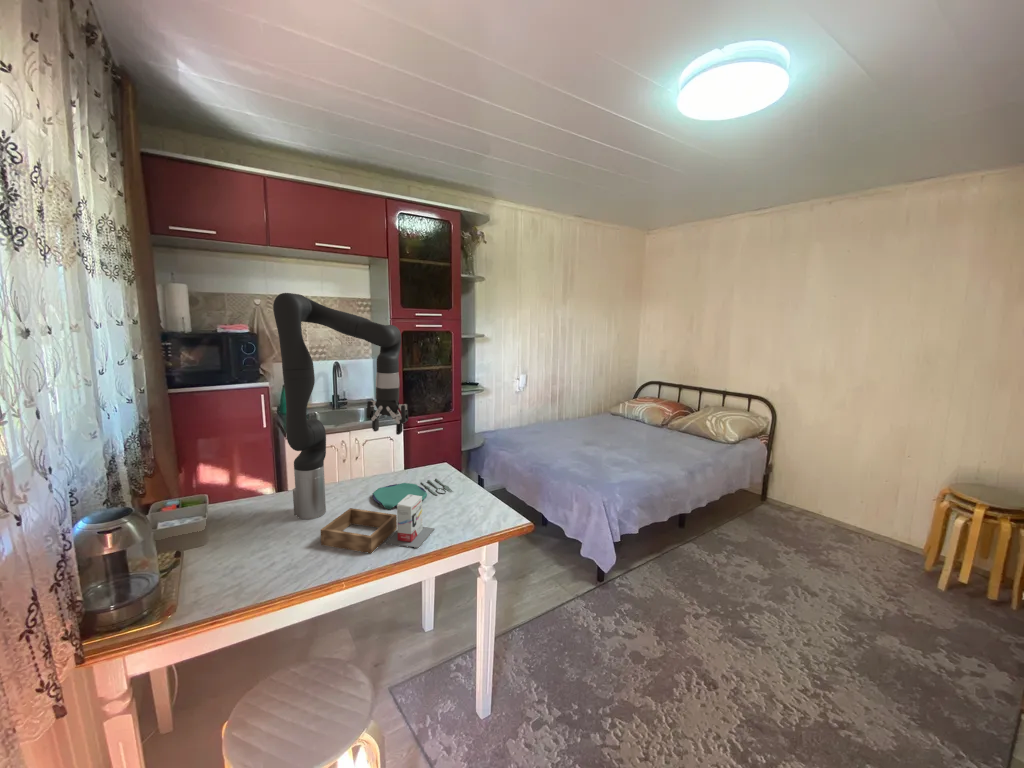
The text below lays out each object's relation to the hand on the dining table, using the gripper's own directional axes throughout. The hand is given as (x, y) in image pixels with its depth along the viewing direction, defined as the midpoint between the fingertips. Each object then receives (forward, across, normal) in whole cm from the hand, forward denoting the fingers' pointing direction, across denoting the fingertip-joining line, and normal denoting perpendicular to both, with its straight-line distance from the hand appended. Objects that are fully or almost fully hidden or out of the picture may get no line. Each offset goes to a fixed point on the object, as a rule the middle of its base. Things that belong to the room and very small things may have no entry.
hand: (387, 432), depth 142 cm
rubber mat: (+30, +15, -11) cm, 35 cm away
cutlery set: (+31, 0, +18) cm, 36 cm away
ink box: (+29, +14, -11) cm, 34 cm away
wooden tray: (+30, 0, -16) cm, 34 cm away
